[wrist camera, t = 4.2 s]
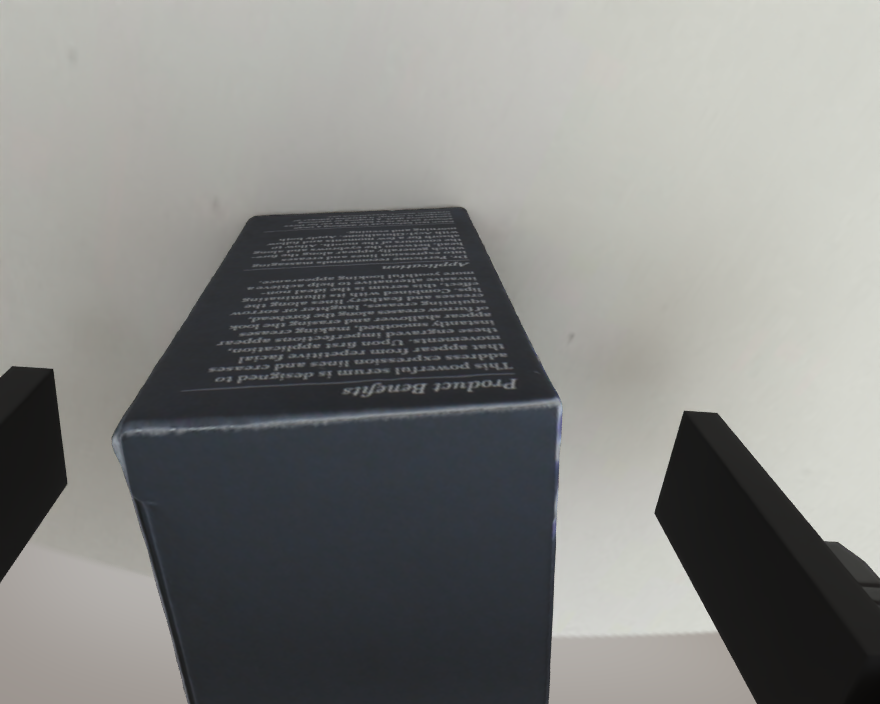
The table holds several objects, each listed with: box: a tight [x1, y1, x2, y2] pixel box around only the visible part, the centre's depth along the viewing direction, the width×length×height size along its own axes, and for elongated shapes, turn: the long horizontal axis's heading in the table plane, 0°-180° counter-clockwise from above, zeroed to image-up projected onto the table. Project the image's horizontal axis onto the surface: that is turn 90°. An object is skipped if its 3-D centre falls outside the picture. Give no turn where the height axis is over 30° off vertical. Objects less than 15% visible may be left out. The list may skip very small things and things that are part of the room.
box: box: [112, 207, 563, 704], centre depth 15 cm, size 8×6×11 cm
